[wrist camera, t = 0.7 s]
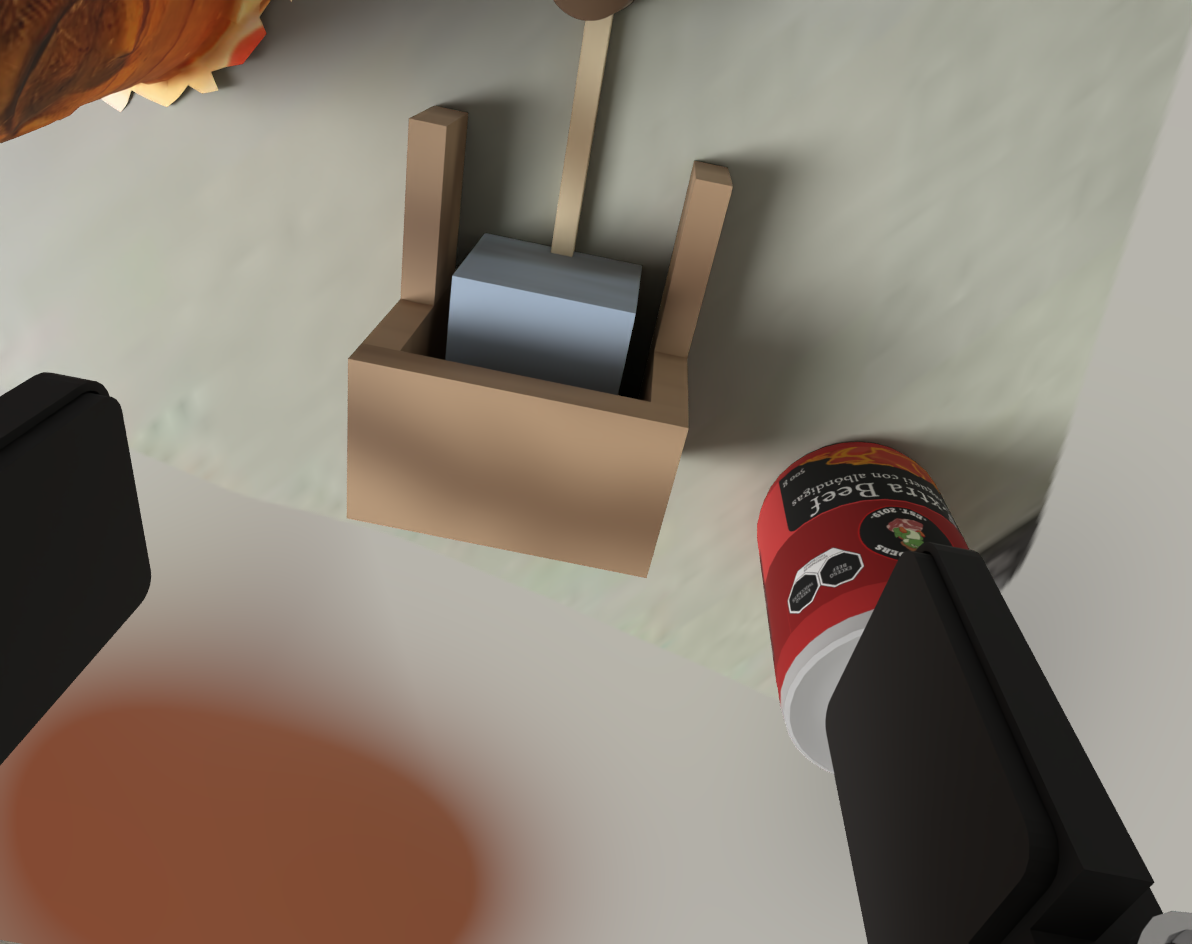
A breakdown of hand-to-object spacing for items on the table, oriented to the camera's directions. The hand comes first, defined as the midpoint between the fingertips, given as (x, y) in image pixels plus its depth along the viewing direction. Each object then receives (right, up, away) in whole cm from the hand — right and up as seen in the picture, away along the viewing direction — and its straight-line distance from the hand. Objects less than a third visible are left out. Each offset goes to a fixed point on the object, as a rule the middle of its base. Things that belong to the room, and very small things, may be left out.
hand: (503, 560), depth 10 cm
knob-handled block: (0, +11, +19) cm, 22 cm away
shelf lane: (0, +8, +21) cm, 22 cm away
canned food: (+12, -1, +25) cm, 28 cm away
